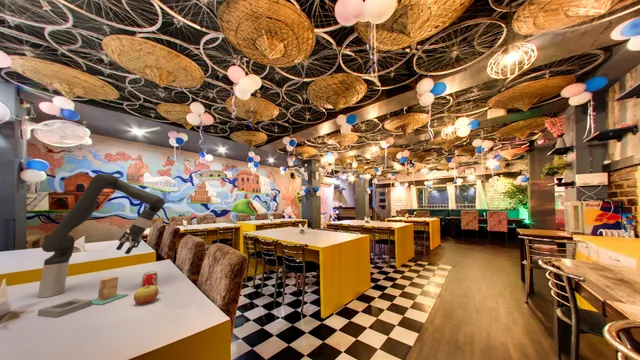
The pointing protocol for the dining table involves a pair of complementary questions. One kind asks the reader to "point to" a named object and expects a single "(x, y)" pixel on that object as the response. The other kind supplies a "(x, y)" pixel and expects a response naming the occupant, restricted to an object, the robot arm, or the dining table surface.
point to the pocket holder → (64, 308)
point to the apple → (146, 294)
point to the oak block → (108, 288)
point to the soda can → (149, 279)
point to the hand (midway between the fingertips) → (122, 251)
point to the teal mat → (102, 302)
